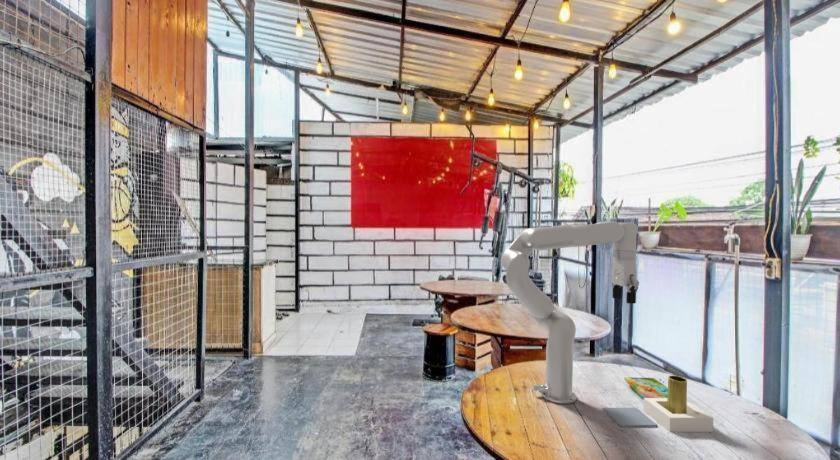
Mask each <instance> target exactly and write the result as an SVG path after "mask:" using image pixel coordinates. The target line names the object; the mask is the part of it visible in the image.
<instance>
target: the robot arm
mask: <svg viewBox="0 0 840 460" xmlns="http://www.w3.org/2000/svg"><path fill="white" fill-rule="evenodd" d="M637 232H638V228H637V223H635V222H627V221H626V222H624V221H623V222H616V221H598V222H596V223H593V224H575V223H574V224H573V223H571V224H570V223H569V224H560V225H554V226H553V225H551V226H544V227H543V226H542V227H529V228H526V229H524V230H523V231H522V232H521V233H520V234H519V235H518V236H517V237H516V238H515V240H513V242H512V243H511V244H510V245H509V246H508V247H507V249H506V250H505V251H504V252H502V253H503V254H502V256H501V262H500V263H501V265H502V266H503V268H504V269H505V271H506V272H505V281H506V285H507V288H508V289H509V291H510V292H511V293H512V295H513V296H515V298H516V299H517V300H518V301H519V302H520V303H521V306H522V308H523V310H524V311H525V312H526V313H527V314H528V315H529V316H530V317H531V318H532V319H533V320H534V321H535V322H536V323H537V324H538V325H539V326H540V327H541V328H542V329H544V331H546V332H547V333H548V334H547V335H548V337H547V341H546V346H545V347H546V349H545V356H546V357H545V381H542V383H541V384H540V385H539V384H532V390H533V391H538V393H540V394H541V396H542V398H543V399H545V400H547V401H549V402H552V403H557V404H562V405H563V404H565V405H566V404H568V405H569V404H573V403H574V402H576V401H577V395H576V393H575V392H573V371H574V368H573V367H574V363H573V362H574V357H573V356H574V343H575V338H576V333H577V332H576V325H575V321H574V320H573V318H571V317H570V316H568V314H566V313H565V312H562V311H561V310H559V309H558V308H557V307H556V306H555V305H554V304H553V302H552V300H551V298H550V297H549V296H548V295H547V294H545V292H544V291H542V290H541V289H540V288H539V287H538V286H537V285H536V284H535V282H534V281H533V280H532V279H531V278H530V275H529V271H530V263H531V262H530V259H529V258H530V255H531V254H532V253H533V252H534V251H547V250H555V249H565V248H576V247H577V248H578V247H583V246H594V245H595V246H597V245H606V244H613V259H612V264H611V265H612V266H611V272H610V273H611V275H610V282H611V287H612V298H613V299H621V298H622V287H625V288H626V299H625V300H626V304H636V302H637V293H638V290H639V285H640V281H639V280H638V276H637V275H638V273H637V263H636V260H637V237H638V236H637V235H638V234H637Z"/></svg>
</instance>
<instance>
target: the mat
mask: <svg viewBox="0 0 840 460" xmlns="http://www.w3.org/2000/svg"><path fill="white" fill-rule="evenodd" d="M602 410H603V411H604V412H605V413H606V414H607V415H608V416H609V417H610V418H611V419H612V420H613V421H614V422H616V424H618V425H619V426H620V427H621V428H643V427H644V428H658V424H657V422H654V421H653V420H652V419H651V418H650V417H649V416H647V415H646V413H643V412H642V411H641V410H640V409H639V408H638V407H602Z"/></svg>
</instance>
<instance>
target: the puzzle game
mask: <svg viewBox="0 0 840 460" xmlns="http://www.w3.org/2000/svg"><path fill="white" fill-rule="evenodd" d="M624 382H625V383H627V384H628V385H629V388H630V389H631V391H633V393H635V395H637V396H638V397H640V398H641V399H642V400H643V401H644V398H667V397H668V386H666V385H664V384H663V383H662V382H660V381H659V380H657V379H656V378H655V377H639V376H638V377H637V376H636V377H635V376H634V377H633V376H624Z"/></svg>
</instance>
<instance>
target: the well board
mask: <svg viewBox="0 0 840 460" xmlns="http://www.w3.org/2000/svg"><path fill="white" fill-rule="evenodd" d="M666 408H667V398H644V400H643V412H645V414H647V415H648V417H649V416H650V417H651V418H652V419H653V420H654V421H656V423H659V425H661V427H663V428H664V429H666V430H667V431H668V432H669V433H672V432H673V433H676V432H677V433H679V432H681V433H682V432H683V433H688V432H689V433H697V432H698V433H701V432H704V433H706V432H707V433H709V432H710V433H711V432H712V433H713V432H714V417H713V416H712V415H710V414H708V413H707V412H706V411H704V410H702V409H701V408H699V407H697V406H696V405H694V404H693V403H691V402H689V400H687V414H672V413H671V412H669V411H668V410H667V409H666Z"/></svg>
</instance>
